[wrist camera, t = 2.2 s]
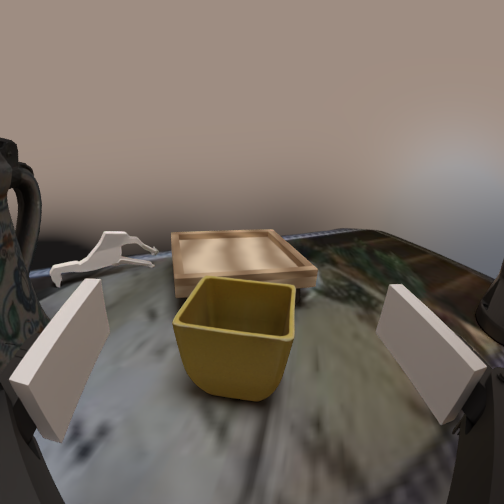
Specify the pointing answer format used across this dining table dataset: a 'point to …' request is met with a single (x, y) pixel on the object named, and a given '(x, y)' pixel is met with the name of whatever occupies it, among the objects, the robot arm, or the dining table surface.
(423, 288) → the dining table surface
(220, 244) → the plant caddy
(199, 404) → the dining table surface
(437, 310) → the dining table surface
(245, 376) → the flower pot
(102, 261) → the llama figurine
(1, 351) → the beer stein
